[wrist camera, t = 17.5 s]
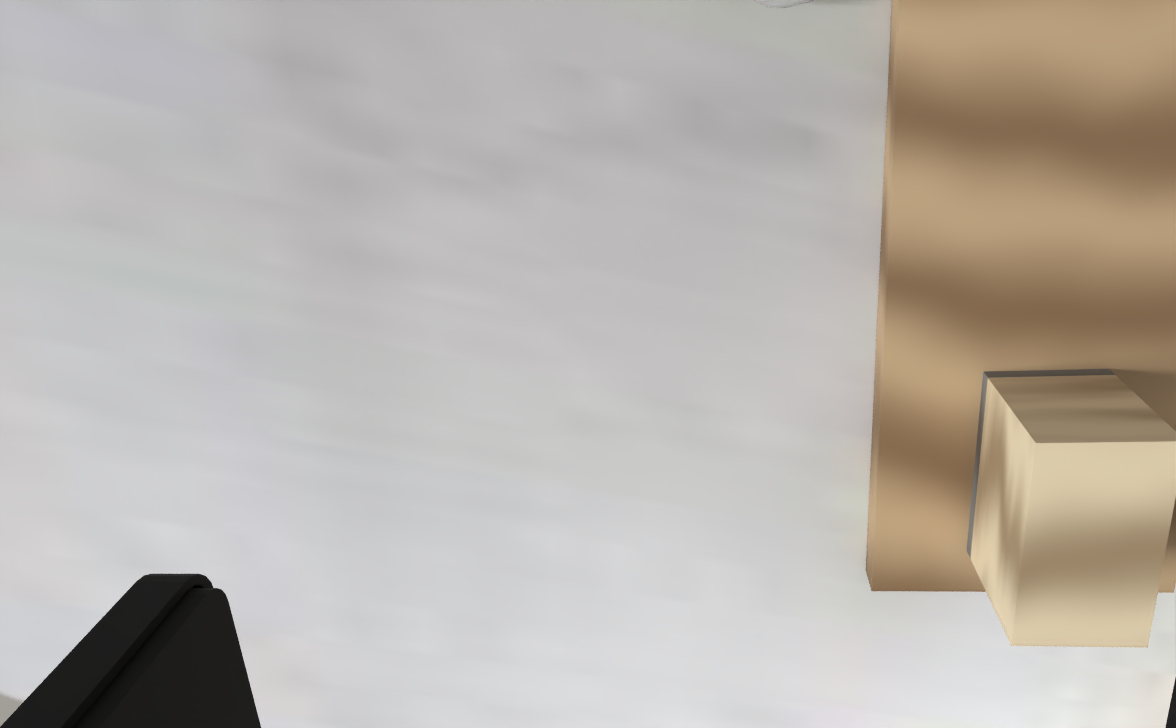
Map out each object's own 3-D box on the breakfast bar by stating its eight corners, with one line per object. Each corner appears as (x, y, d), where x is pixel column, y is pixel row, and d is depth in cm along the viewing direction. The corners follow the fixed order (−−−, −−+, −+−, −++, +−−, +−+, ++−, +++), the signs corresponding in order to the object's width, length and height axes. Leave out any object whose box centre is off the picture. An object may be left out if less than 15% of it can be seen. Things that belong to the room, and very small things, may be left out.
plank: (895, -81, 31) (904, -84, 30) (1282, -113, 30) (1311, -118, 28) (865, 570, 41) (871, 590, 40) (1157, 571, 39) (1173, 592, 38)
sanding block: (983, 371, 35) (1035, 442, 30) (1108, 368, 35) (1185, 441, 29) (966, 550, 38) (1011, 645, 33) (1082, 550, 38) (1147, 647, 32)
